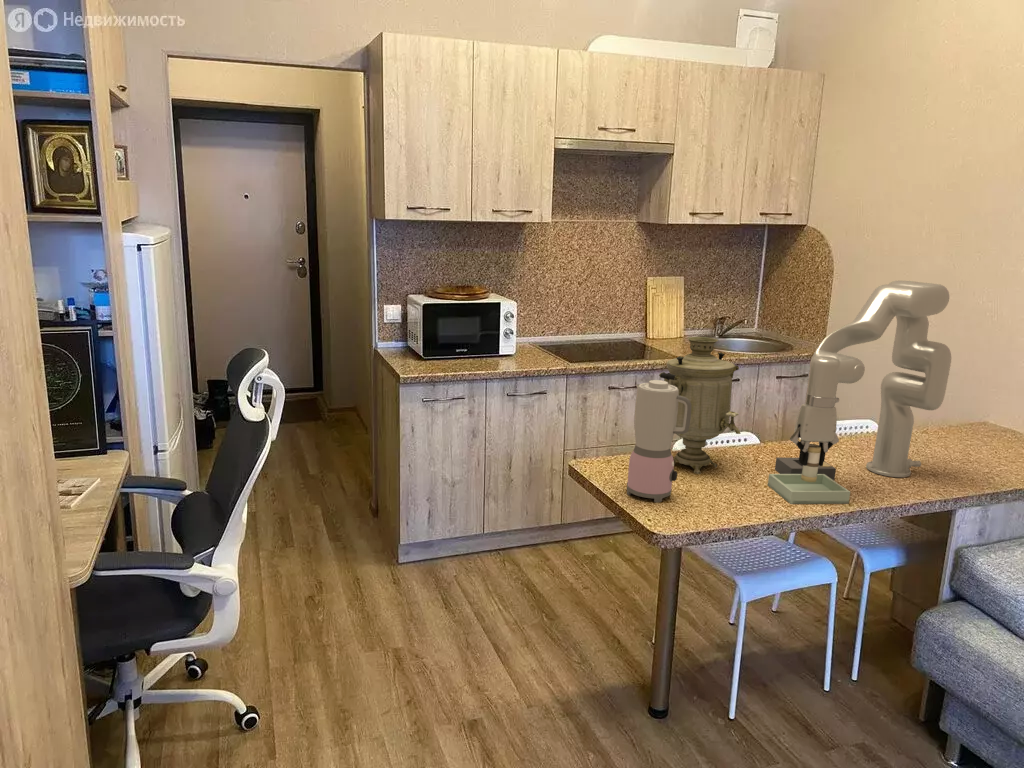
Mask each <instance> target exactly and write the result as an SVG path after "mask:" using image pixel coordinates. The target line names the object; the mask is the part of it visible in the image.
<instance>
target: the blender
mask: <svg viewBox="0 0 1024 768" xmlns="http://www.w3.org/2000/svg"><path fill="white" fill-rule="evenodd" d="M635 386H636V397H635V404H634V419H633V422H634V437H635V445H634V448H633V451H631V454H630V456H629V459H628V460H629V461H628V473H627V482H626V495H628V496H631V495H635V496H637V497H642V498H647V499H653V502H654V503H661V502H663V499H664V498H667V497H669V496H671V495H672V489H673V487H672V486H673V482H675V481H677V478H678V471H677V470H675V469H674V467H675V463H674V460H673V459H674V457H673V454H672V450H671V446H672V442H673V438H674V435H676V434H684V433H687V432H688V430H689V426H690V419H691V402H690V400H689V399H688V398H686V397H683V396H679V395H678V393H679V390H678V388H677V387H675V386H673V385H669V384H668V382H666V381H664V380H660V379H652V380H649V381H648V382H643V383H636V384H635ZM678 402H681V403H683V404H684V405H685V413H684V422H683V427H682V428H679V427H676V421H677V412H678Z"/></svg>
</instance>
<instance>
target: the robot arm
mask: <svg viewBox="0 0 1024 768" xmlns="http://www.w3.org/2000/svg"><path fill="white" fill-rule="evenodd" d="M949 302H950V292H949V290H948V288H947V286H945V285H943V284H939V283H932V282H931V283H930V282H921V281H913V280H912V281H911V280H894V281H891V282H889V283H888V284H886V283H885V284H880V285H878V286H877V287H876V288H875V289H874V290H873V291H872V293H871V294H870V296H869V297H868V299H867V300H866V301H865V303H864V305H863V307H862V308H861V310H860V311H859V312H858V313H857V315H856V317H855V318H854V320H853V321H852V322H850V323H847V324H845V325H844V326H841V327H840V328H837V329H836V330H835V331H832V332H831V333H829V334H828V335H827V336H826V337H825V338H823V339H822V340H821V342H820V344H819V345H818V346H817V348H816V349H815V351H814V353H812V356H811V359H810V361H809V372H808V373H809V374H808V379H807V387H806V393H805V394H806V395H805V400H804V401H805V402H804V403H802V404H801V405H800V408H799V409H798V415H797V418H796V422H795V426H794V432H793V434H792V435H791V436H790V437H789V440H790V442H792V443H793V444H794V445H796V446H797V448H798V449H799V455H798V458H799V462H800V463H801V464H802V465H804V466H806V465H807V462H808V455H809V453H808V452H807V450H808V447H809V444H811V443H818V445H819V446H821V452H820V459H819V465H820V466H823V462H824V461H825V458H826V453H828V452H829V449H831V447H833V446H834V445H836V444H838V443H839V442H840V439H839V437H838V435H837V422H838V416H837V415H838V414H837V407H836V403H839V402H840V398H839V397H837V390H838V384H847V385H849V384H855V383H858V382H859V381H860V380H861V379H862V378H863V377H864V374H865V364H864V362H863V361H862V360H861V359H859V358H858V357H855V356H851V355H847V354H846V355H845V354H841V353H839V352H840V351H842V350H843V349H845V348H848V347H851V346H855V345H860V344H865V343H870V342H874V341H877V340H880V338H881V337H883V334H884V333H885V332H886V330H887V329H888V327H889V325H890V324H891V323H892V321H893V319H894V318H896V327H895V334H894V340H893V347H892V352H891V353H892V354H891V361H892V364H893V365H894V366H895V367H897V368H900V369H904V370H907V371H908V370H909V371H915V372H919V373H923V374H924V375H925V376H921V375H917V374H913V373H907V372H903V371H893V372H890V373H888V374H886V375H885V376H883V378H882V379H881V384H880V413H879V419H878V425H877V431H876V437H875V444H874V449H873V456H872V460H871V461H868V462H867V463H866V466H865V468H866V469H867V470H869V472H870V471H871V473H874V474H877V475H881V476H885V477H891V478H906V477H907V478H908V477H910V476H911V474H912V471H911V469H910V468H912V467H913V468H914V467H916V468H921V466H922V462H921V461H920V460H912V459H911V458H908V457H909V451H910V446H911V441H912V440H911V439H912V436H913V435H912V433H913V427H914V424H915V423H914V422H915V417H914V413H913V410H912V409H911V407H912V408H916V409H920V410H925V411H936V410H938V409H939V408H940V407H941V406H942V404H943V402H944V399H945V396H946V390H947V387H948V381H949V380H948V379H949V375H950V371H951V370H950V369H951V366H952V365H951V364H952V352H951V350H950V347H948V346H947V345H946V344H945V343H943V342H937V341H934V340H933V341H931V340H928V332H929V326H930V325H929V324H930V323H929V319H928V317H929V316H935V315H938V314H940V313H941V312H943V311H945V309H946V308H947V306H948V304H949ZM799 438H800V441H799Z"/></svg>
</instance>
